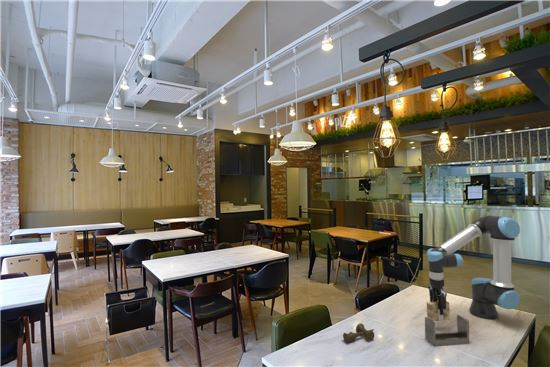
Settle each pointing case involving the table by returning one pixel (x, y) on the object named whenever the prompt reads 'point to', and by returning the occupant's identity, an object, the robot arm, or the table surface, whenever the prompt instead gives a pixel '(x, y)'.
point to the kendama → (359, 334)
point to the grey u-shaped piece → (448, 337)
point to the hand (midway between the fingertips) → (438, 318)
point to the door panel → (433, 311)
